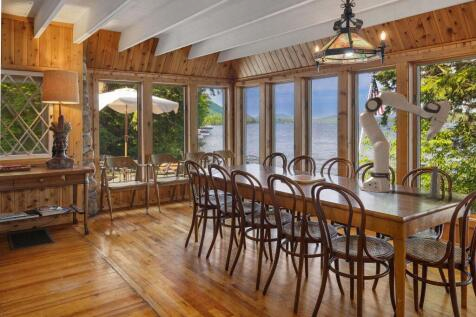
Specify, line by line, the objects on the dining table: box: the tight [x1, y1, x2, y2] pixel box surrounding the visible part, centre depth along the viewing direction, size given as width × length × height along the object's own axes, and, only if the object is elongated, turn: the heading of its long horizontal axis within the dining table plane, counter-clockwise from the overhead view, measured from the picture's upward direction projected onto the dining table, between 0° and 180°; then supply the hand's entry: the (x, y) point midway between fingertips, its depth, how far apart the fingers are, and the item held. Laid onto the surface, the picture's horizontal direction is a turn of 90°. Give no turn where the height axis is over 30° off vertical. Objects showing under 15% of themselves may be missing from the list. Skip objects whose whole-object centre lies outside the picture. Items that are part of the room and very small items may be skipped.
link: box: [429, 172, 442, 195], centre depth 267 cm, size 6×5×14 cm
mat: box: [418, 192, 432, 197], centre depth 276 cm, size 8×8×1 cm
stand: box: [426, 165, 443, 200], centre depth 264 cm, size 9×11×22 cm
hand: (429, 139), depth 273 cm, fingers open, 8 cm apart
